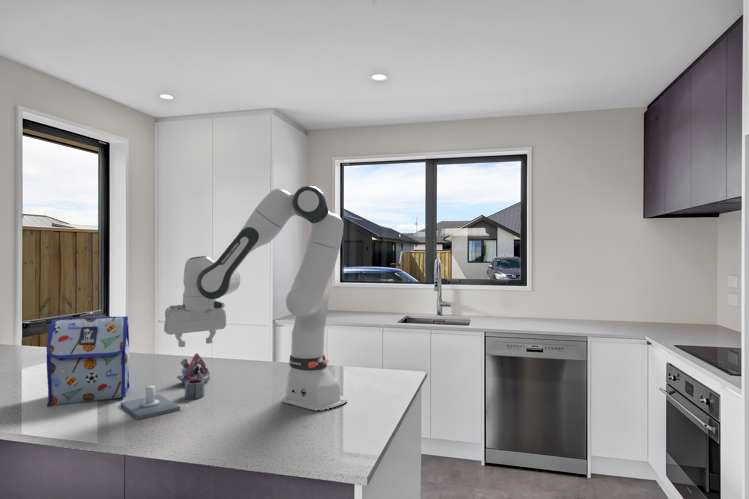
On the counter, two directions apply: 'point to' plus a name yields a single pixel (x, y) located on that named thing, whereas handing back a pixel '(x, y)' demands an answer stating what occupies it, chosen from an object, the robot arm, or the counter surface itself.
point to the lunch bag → (87, 359)
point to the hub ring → (194, 389)
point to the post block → (149, 405)
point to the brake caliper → (194, 370)
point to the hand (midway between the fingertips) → (195, 344)
